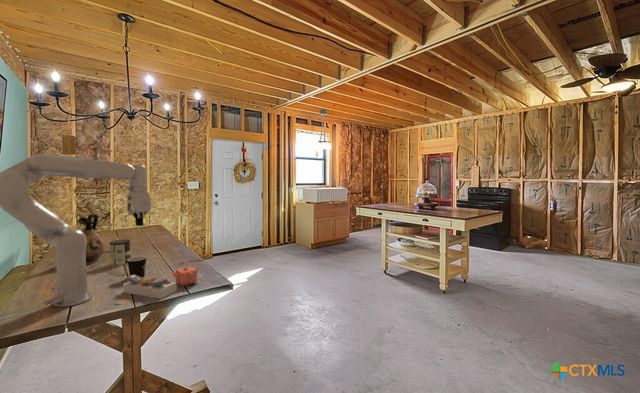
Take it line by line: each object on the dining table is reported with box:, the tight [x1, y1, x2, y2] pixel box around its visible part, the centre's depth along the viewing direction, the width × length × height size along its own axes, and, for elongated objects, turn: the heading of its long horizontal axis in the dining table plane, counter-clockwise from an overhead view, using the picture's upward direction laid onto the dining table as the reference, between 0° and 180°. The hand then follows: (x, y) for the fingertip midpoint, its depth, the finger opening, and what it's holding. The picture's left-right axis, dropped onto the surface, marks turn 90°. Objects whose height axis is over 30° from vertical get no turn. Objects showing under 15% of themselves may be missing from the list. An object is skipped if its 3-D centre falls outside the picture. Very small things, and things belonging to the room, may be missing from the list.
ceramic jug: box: [78, 213, 105, 265], centre depth 176 cm, size 17×15×30 cm
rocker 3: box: [150, 278, 168, 286], centre depth 128 cm, size 4×6×2 cm, turn 74°
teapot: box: [170, 265, 201, 287], centre depth 142 cm, size 12×15×8 cm
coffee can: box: [109, 239, 132, 267], centre depth 172 cm, size 10×10×14 cm
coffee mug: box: [127, 256, 147, 278], centre depth 151 cm, size 12×9×10 cm
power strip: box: [122, 277, 178, 299], centre depth 132 cm, size 9×27×4 cm, turn 74°
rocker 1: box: [126, 274, 145, 284], centre depth 132 cm, size 4×6×2 cm, turn 74°
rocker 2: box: [138, 276, 157, 285], centre depth 130 cm, size 4×6×2 cm, turn 74°
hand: (139, 225), depth 142 cm, fingers closed
